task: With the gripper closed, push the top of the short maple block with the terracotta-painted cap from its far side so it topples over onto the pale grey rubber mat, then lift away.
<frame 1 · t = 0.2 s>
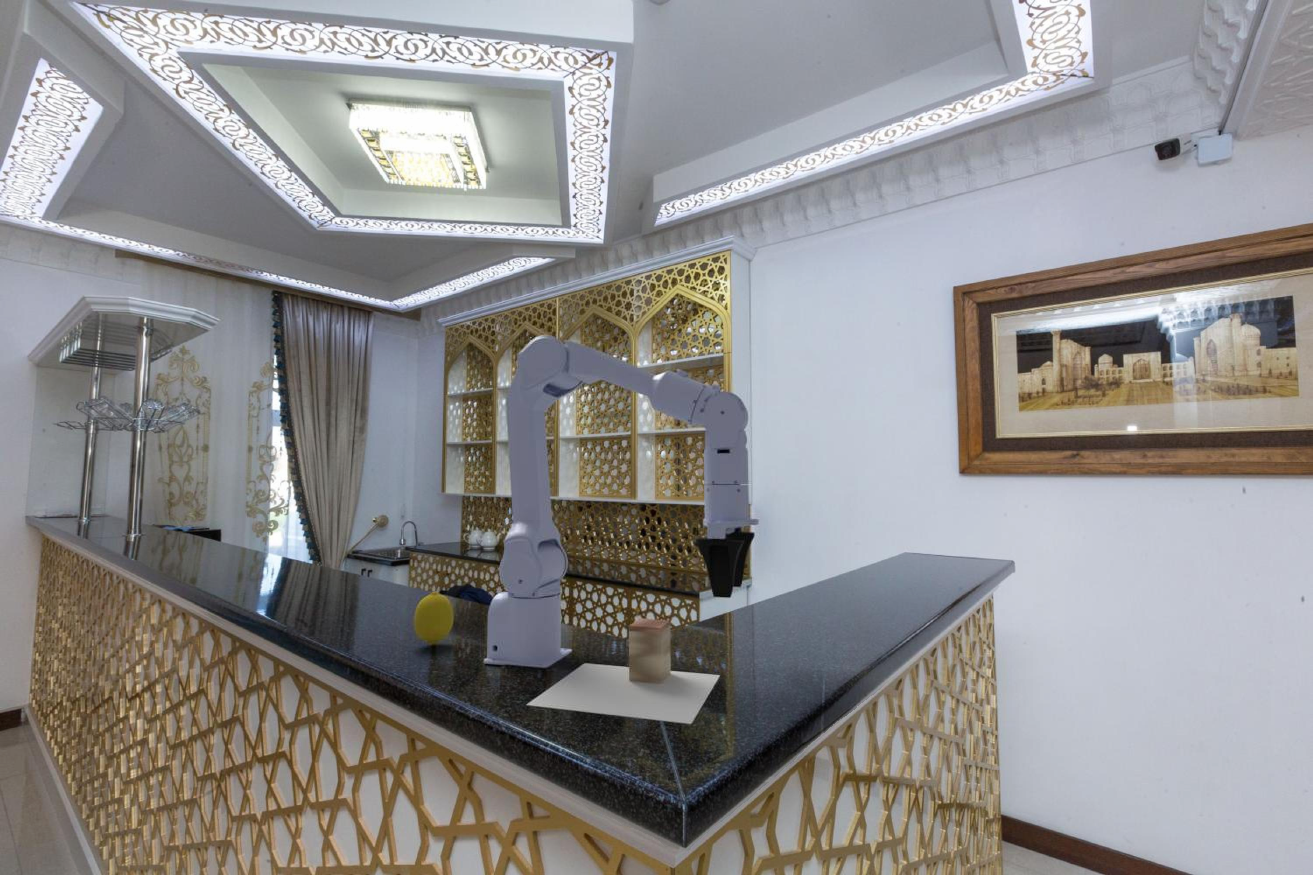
hand: (728, 591, 73), 10 cm above the counter, tool pointing down, fingers open, 7 cm apart
maple block: (650, 677, 69), resting on grey mat
lemon: (433, 647, 85), on the counter
grey mat: (629, 692, 65), on the counter
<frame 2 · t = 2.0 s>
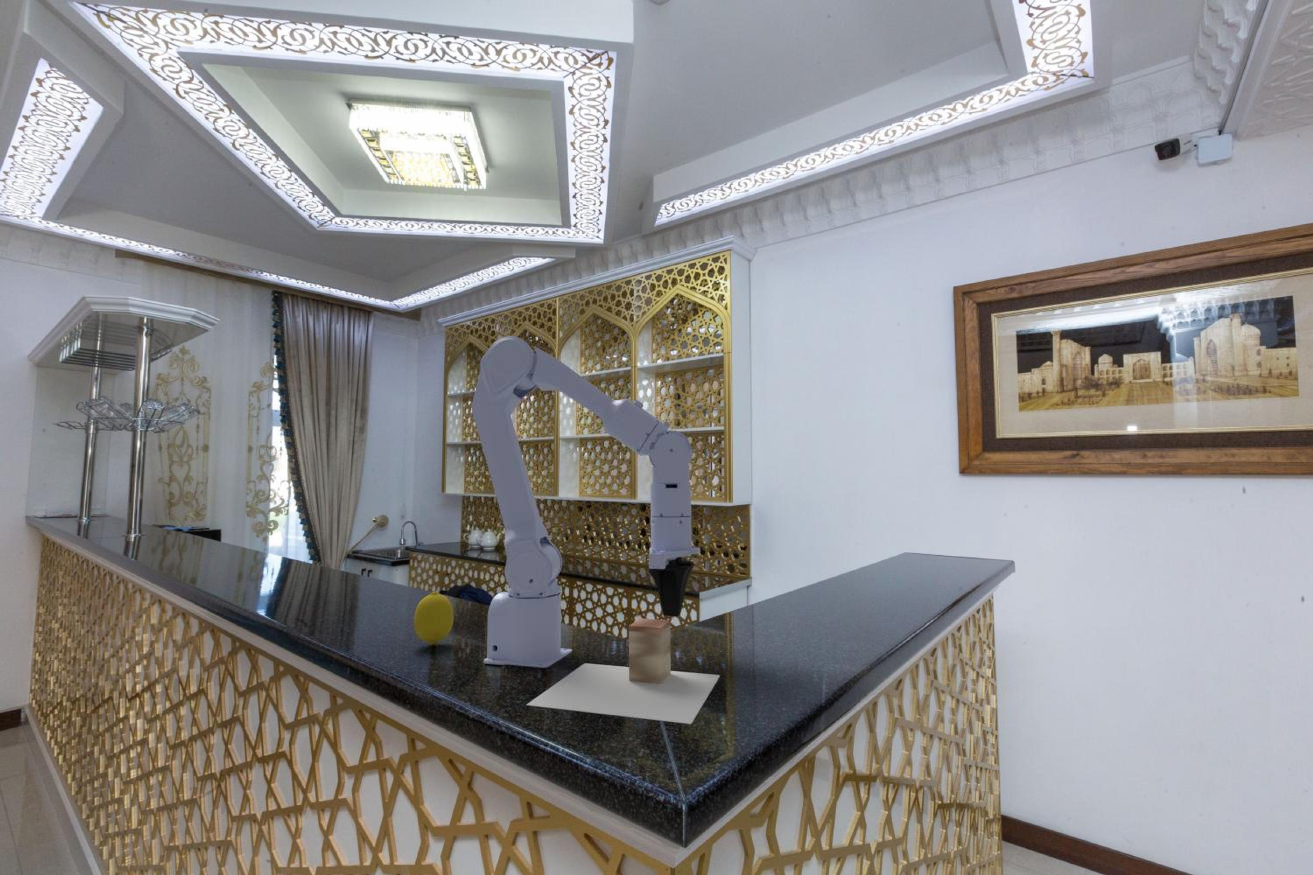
hand: (672, 615, 79), 6 cm above the counter, tool pointing down, fingers closed
nothing on the counter moved.
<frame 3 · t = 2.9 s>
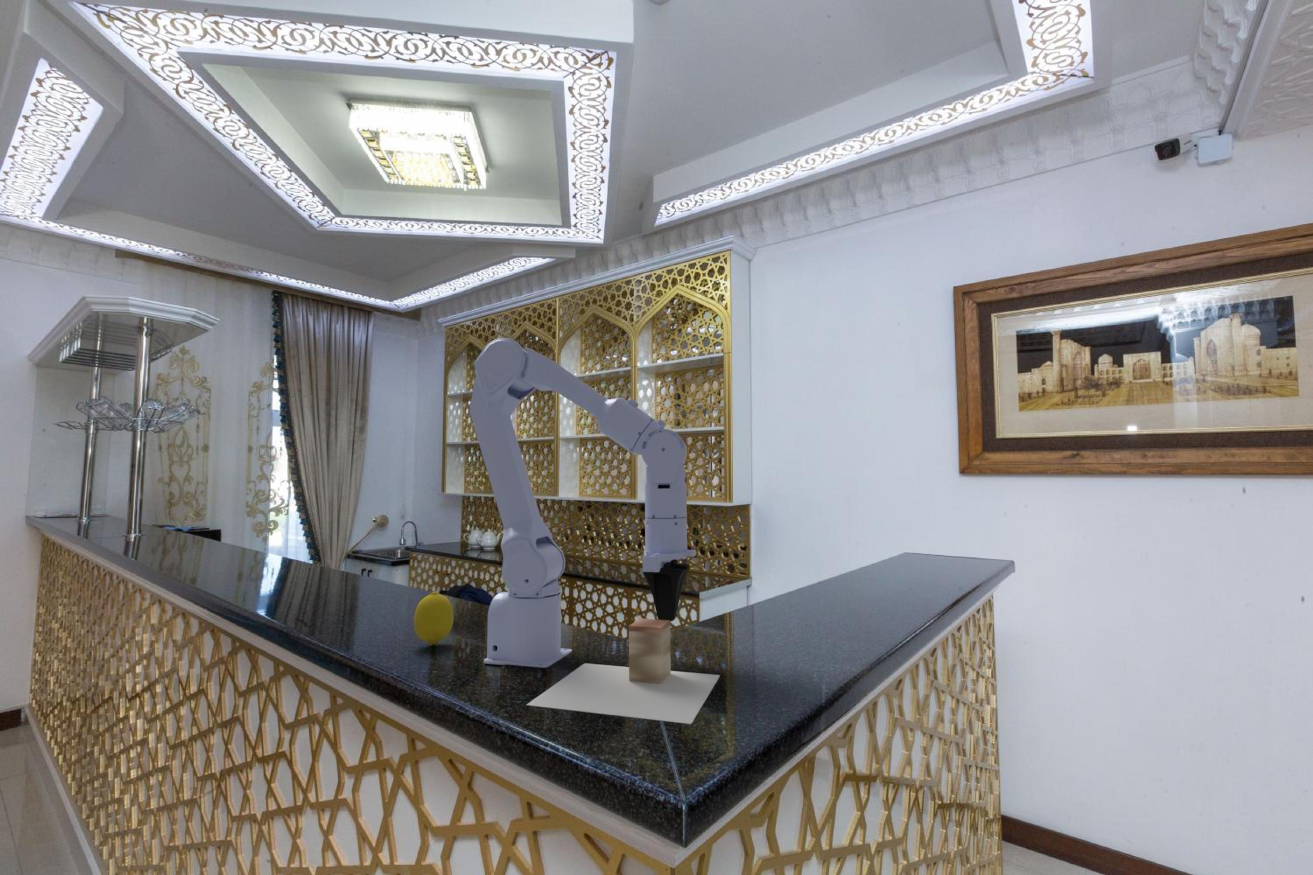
hand: (666, 619, 77), 6 cm above the counter, tool pointing down, fingers closed
nothing on the counter moved.
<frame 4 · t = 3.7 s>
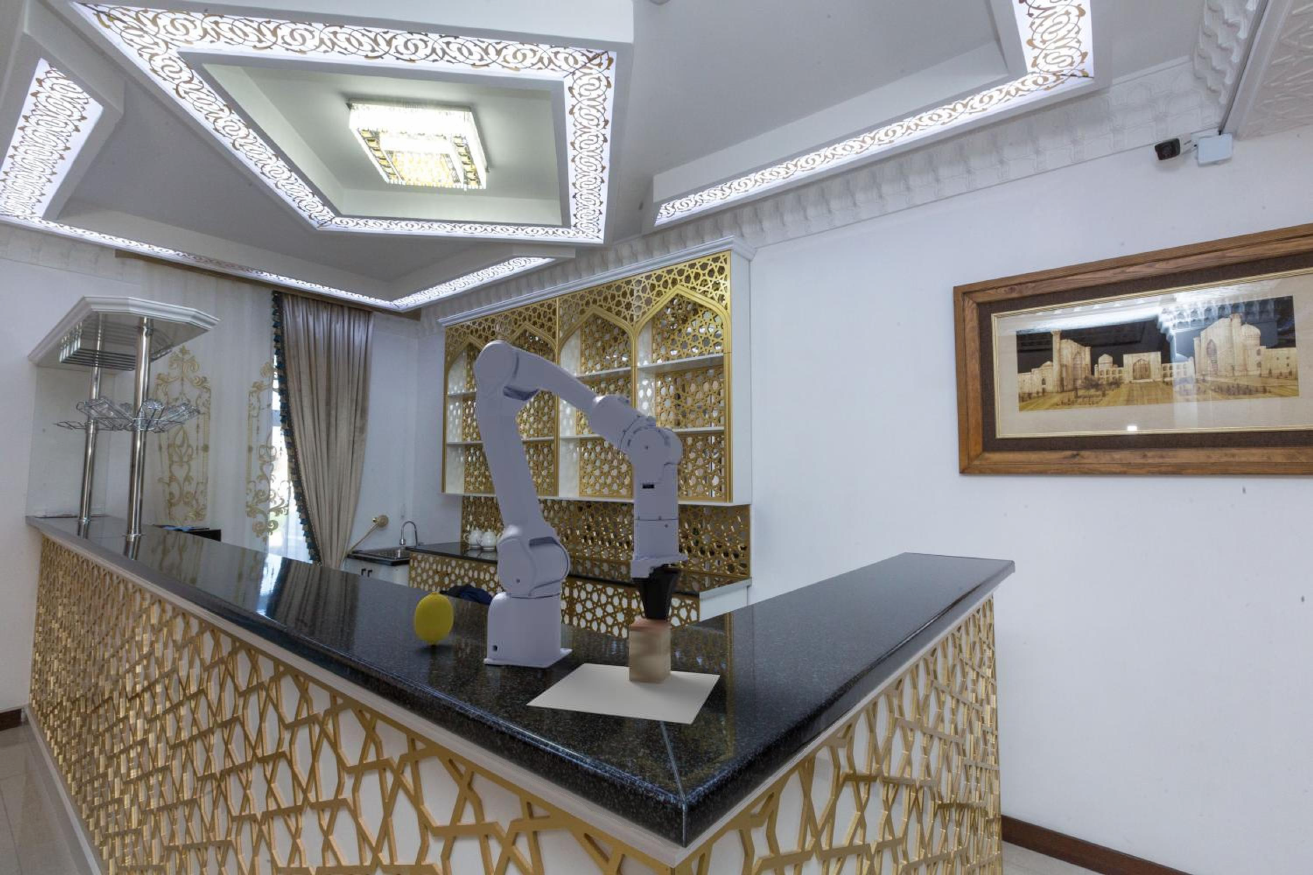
hand: (657, 627, 72), 6 cm above the counter, tool pointing down, fingers closed
maple block: (650, 677, 69), resting on grey mat, touching gripper
everything else where it was.
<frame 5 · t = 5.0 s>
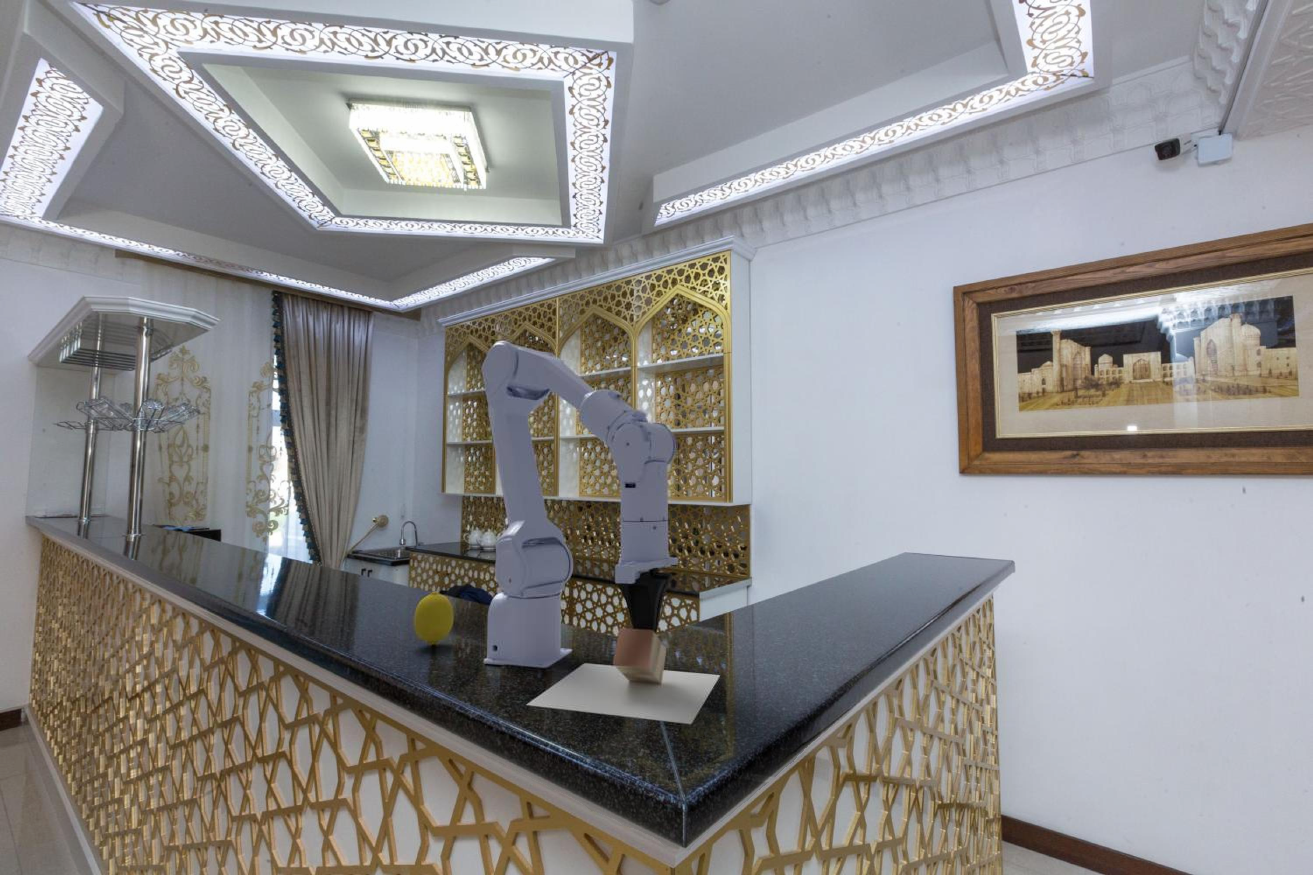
hand: (645, 636, 68), 6 cm above the counter, tool pointing down, fingers closed
maple block: (647, 665, 68), point 2 cm above the counter, tilted 56°, touching grey mat, gripper
everything else where it was.
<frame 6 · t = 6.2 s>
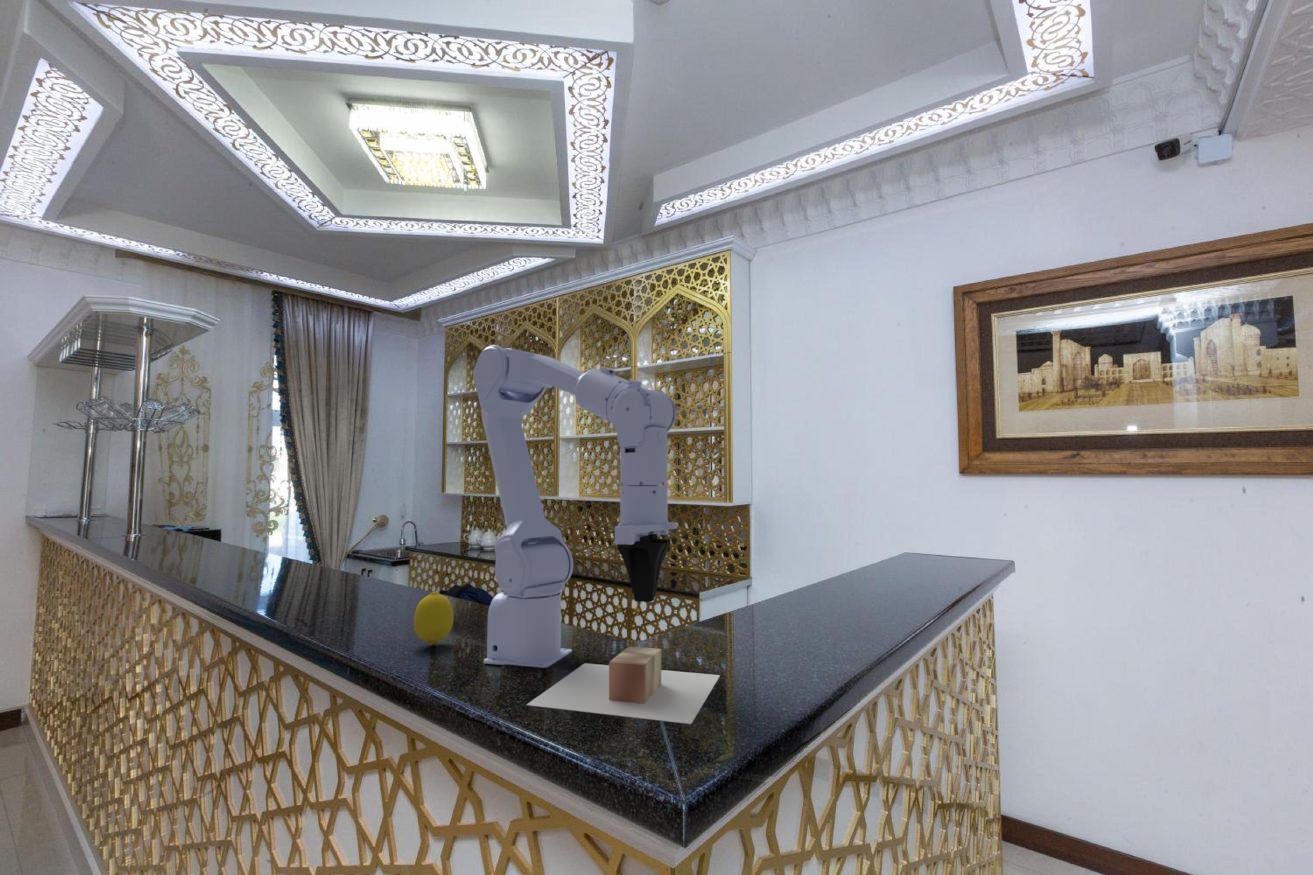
hand: (644, 600, 68), 10 cm above the counter, tool pointing down, fingers closed
maple block: (645, 664, 67), point 2 cm above the counter, tilted 90°, touching grey mat
everything else where it was.
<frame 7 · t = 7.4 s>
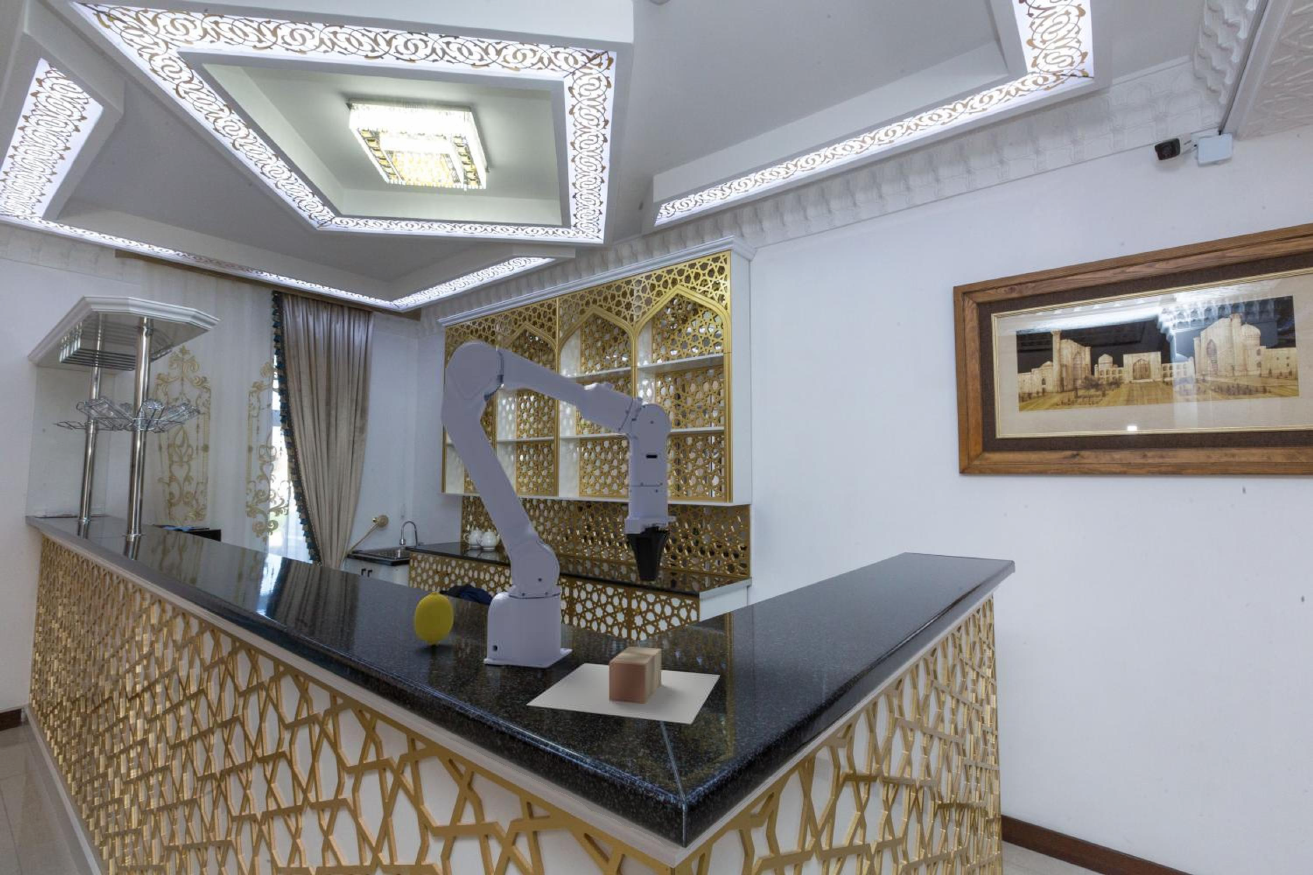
hand: (648, 580, 83), 10 cm above the counter, tool pointing down, fingers closed
nothing on the counter moved.
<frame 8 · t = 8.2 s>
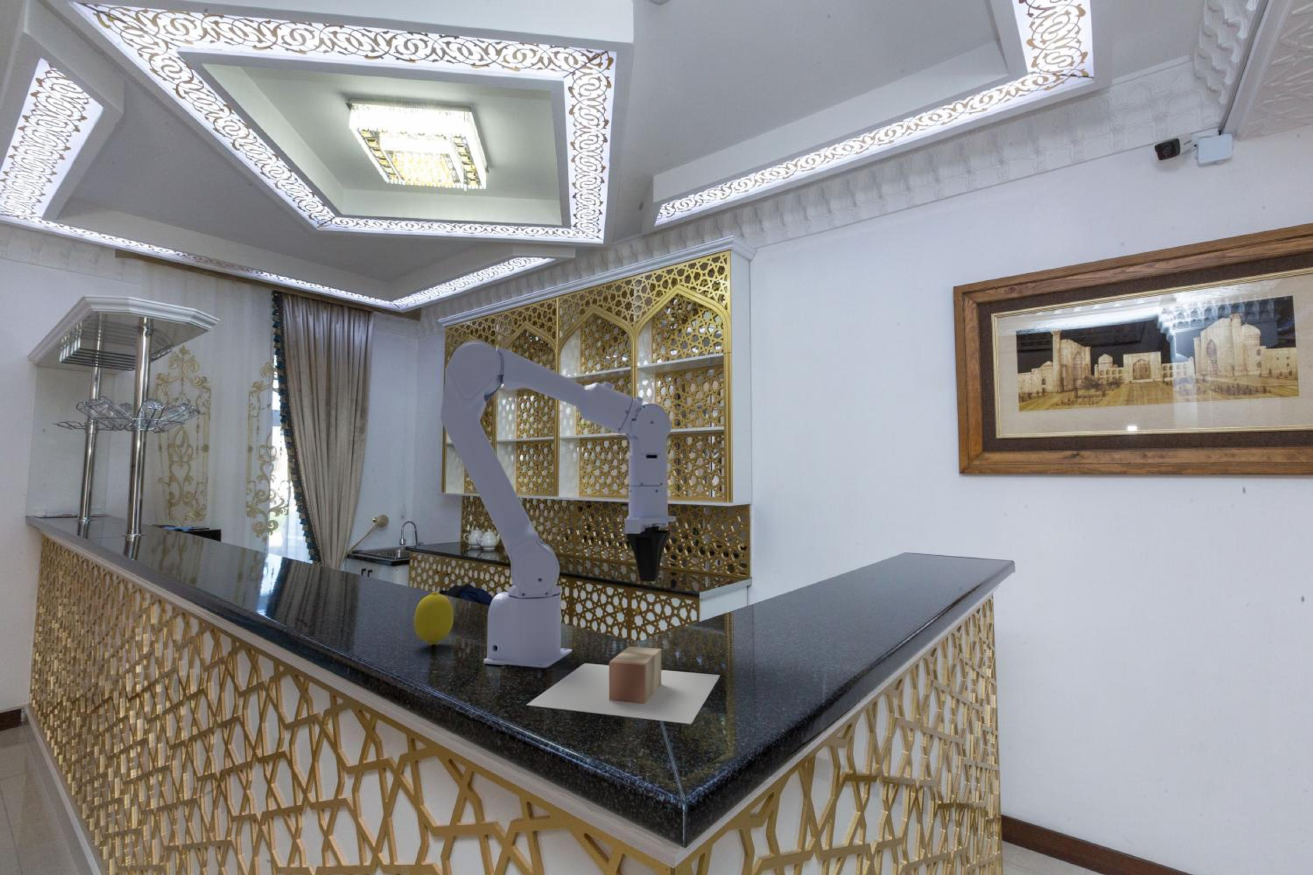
hand: (648, 580, 83), 10 cm above the counter, tool pointing down, fingers closed
nothing on the counter moved.
at the end: maple block tilted 90°; maple block touching grey mat; maple block inside the target area (2.0 cm from its centre), point 2.4 cm above the counter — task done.
